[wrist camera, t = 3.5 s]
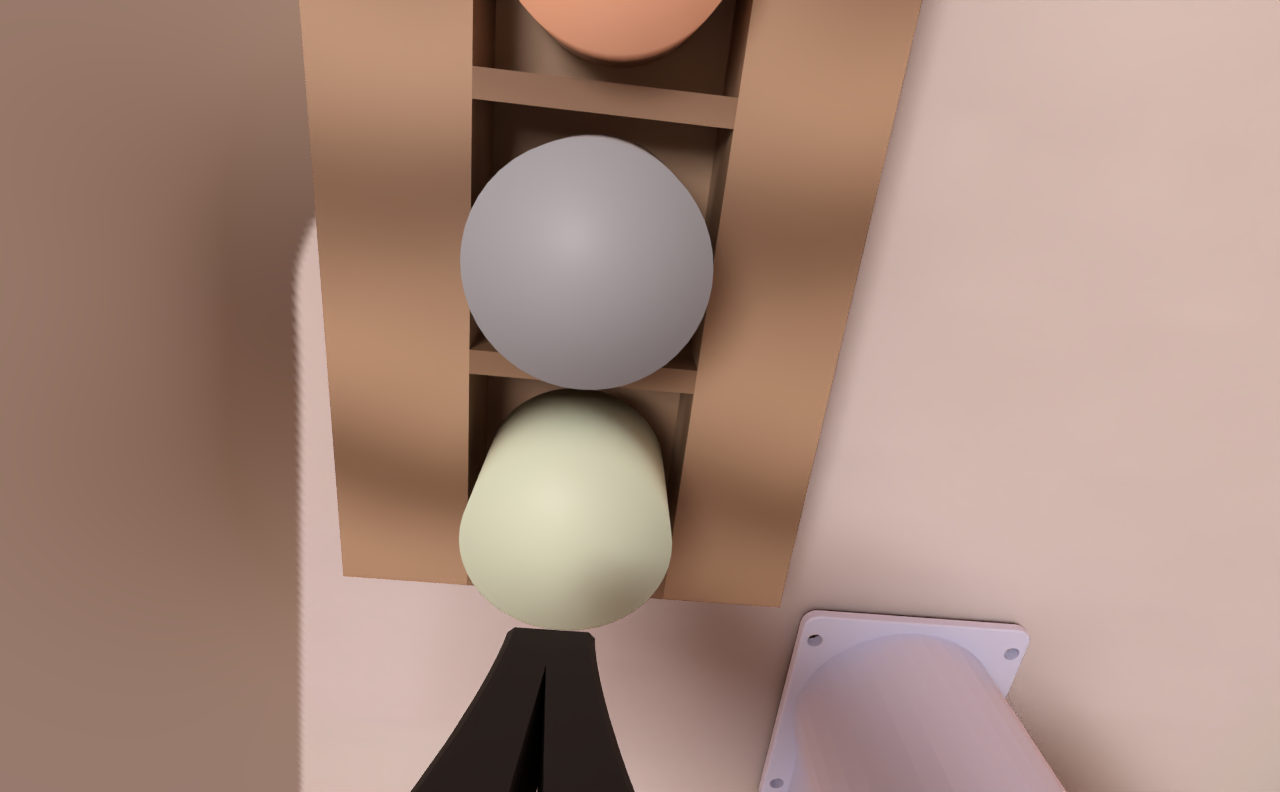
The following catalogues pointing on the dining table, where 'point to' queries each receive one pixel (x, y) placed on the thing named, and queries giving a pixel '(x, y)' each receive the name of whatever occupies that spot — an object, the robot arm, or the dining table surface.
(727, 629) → the dining table surface
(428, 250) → the brown wooden flat frame
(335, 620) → the dining table surface
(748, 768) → the dining table surface
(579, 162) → the key slate
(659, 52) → the peach rounded block
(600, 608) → the key sage
